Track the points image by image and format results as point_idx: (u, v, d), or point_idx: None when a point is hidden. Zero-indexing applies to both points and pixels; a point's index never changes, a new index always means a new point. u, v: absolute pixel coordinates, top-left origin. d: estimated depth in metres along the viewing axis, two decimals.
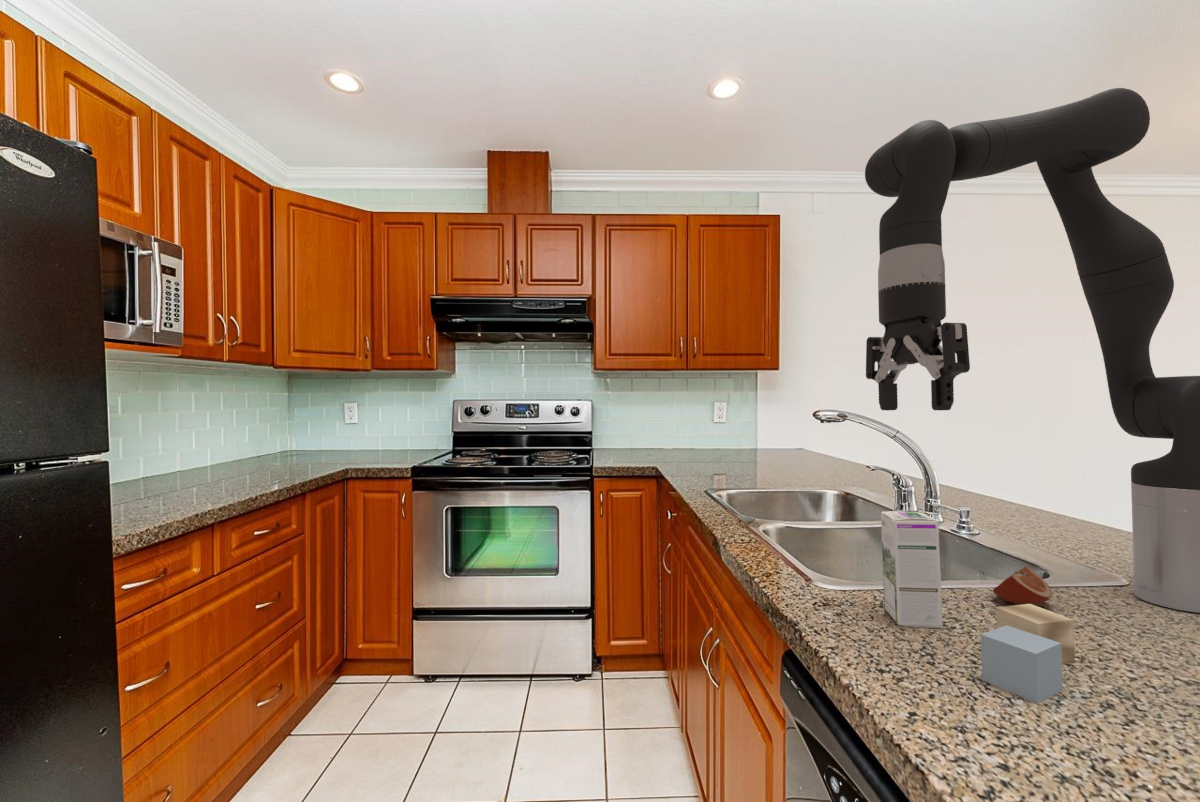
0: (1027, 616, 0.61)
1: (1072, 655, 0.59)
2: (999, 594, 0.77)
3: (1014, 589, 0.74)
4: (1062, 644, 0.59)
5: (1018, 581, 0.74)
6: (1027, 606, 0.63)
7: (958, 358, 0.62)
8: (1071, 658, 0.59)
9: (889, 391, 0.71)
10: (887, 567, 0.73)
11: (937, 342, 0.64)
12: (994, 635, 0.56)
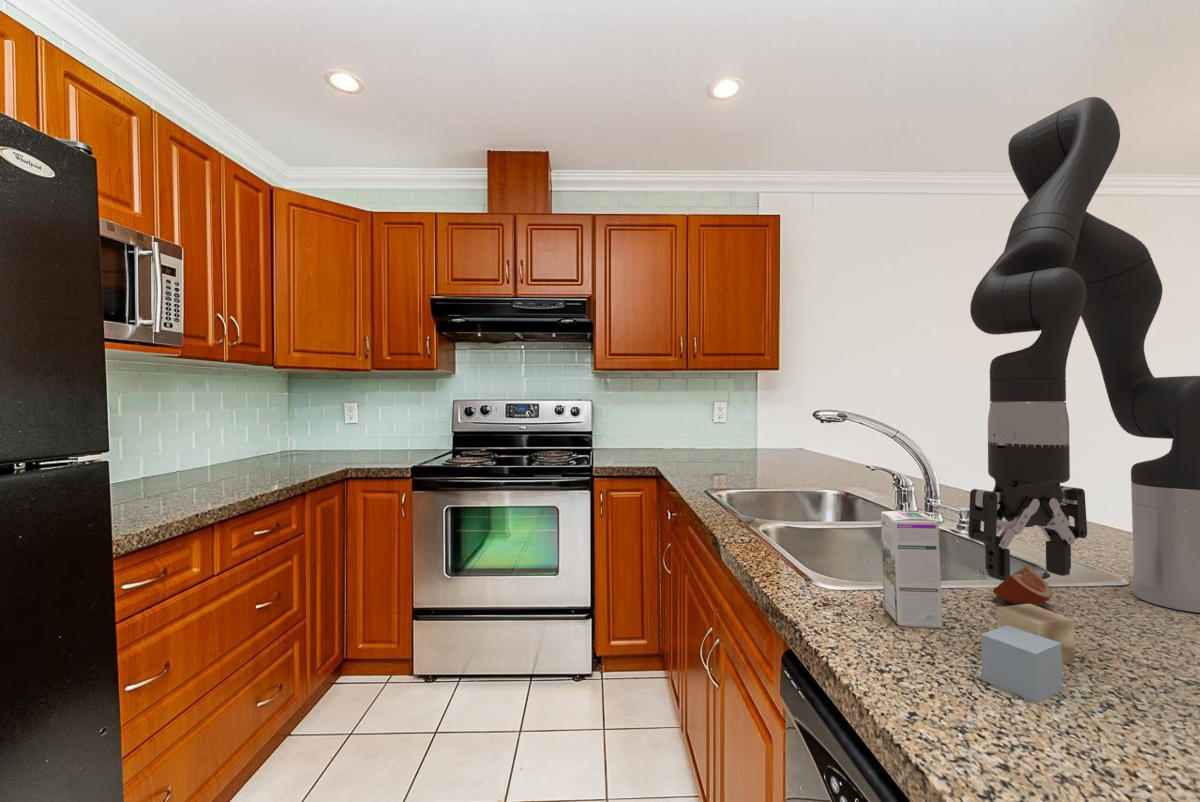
0: (1027, 616, 0.61)
1: (1072, 655, 0.59)
2: (999, 594, 0.77)
3: (1014, 590, 0.74)
4: (1062, 644, 0.59)
5: (1018, 581, 0.74)
6: (1027, 606, 0.63)
7: None
8: (1071, 658, 0.59)
9: None
10: (887, 567, 0.73)
11: None
12: (994, 635, 0.56)
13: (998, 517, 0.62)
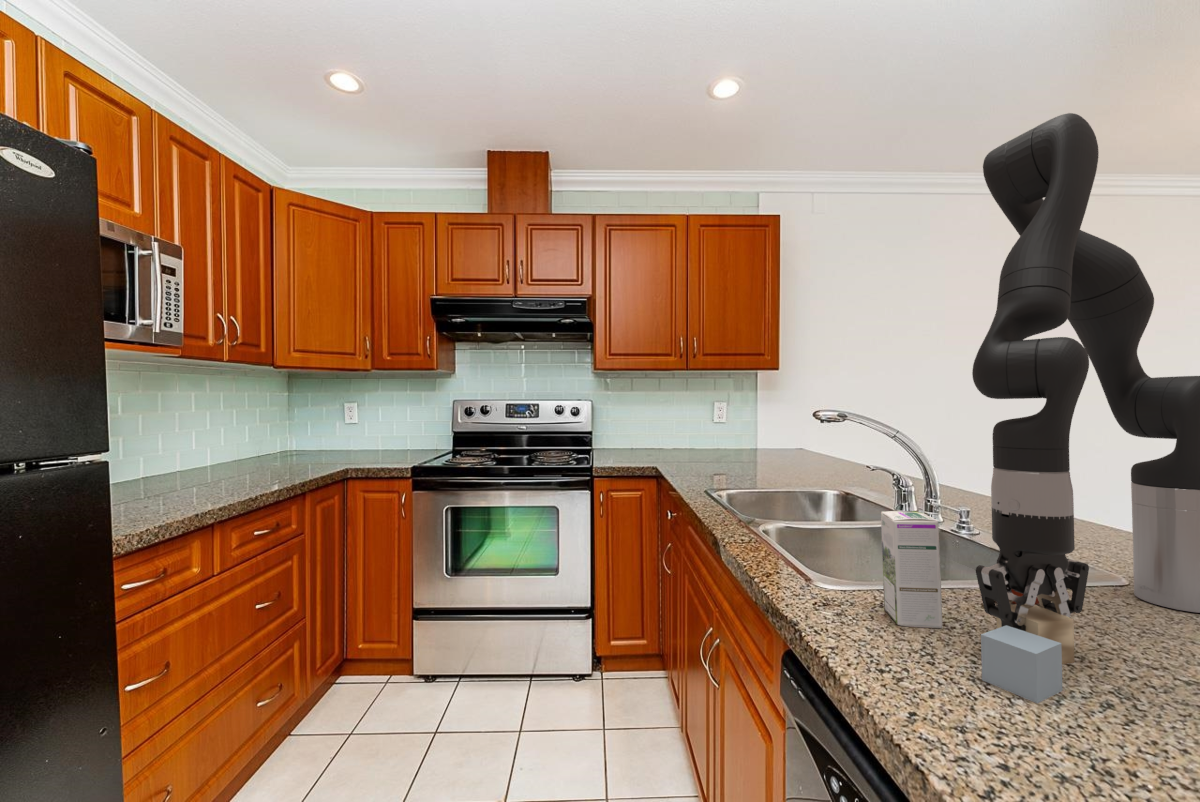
0: (1027, 615, 0.61)
1: (1072, 654, 0.59)
2: None
3: None
4: (1062, 643, 0.59)
5: None
6: None
7: None
8: (1071, 657, 0.59)
9: None
10: (887, 567, 0.73)
11: None
12: (994, 635, 0.56)
13: (1008, 587, 0.62)
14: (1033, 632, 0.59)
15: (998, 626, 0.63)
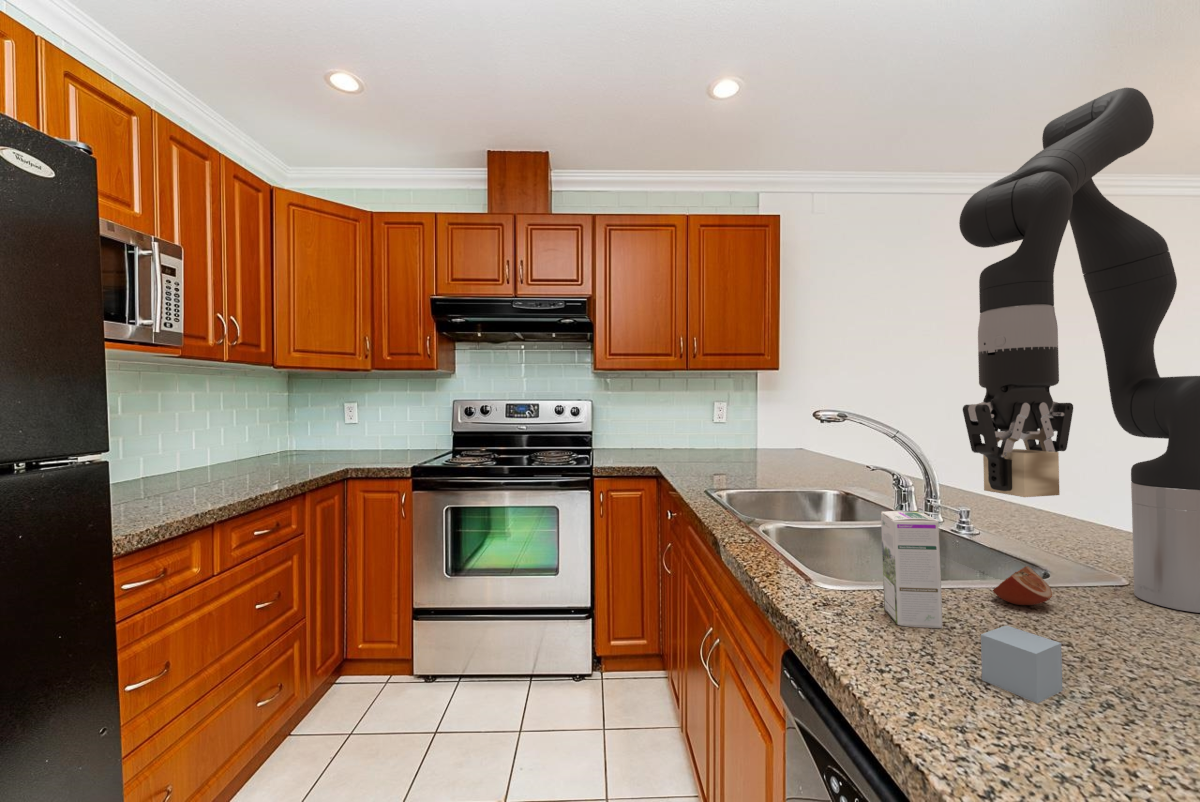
0: (1013, 451, 0.61)
1: (1057, 487, 0.60)
2: (999, 594, 0.77)
3: (1014, 590, 0.74)
4: (1047, 475, 0.60)
5: (1018, 581, 0.74)
6: (1013, 449, 0.64)
7: None
8: (1056, 490, 0.60)
9: None
10: (887, 567, 0.73)
11: None
12: (994, 635, 0.56)
13: (994, 428, 0.63)
14: (1019, 464, 0.60)
15: (985, 469, 0.64)
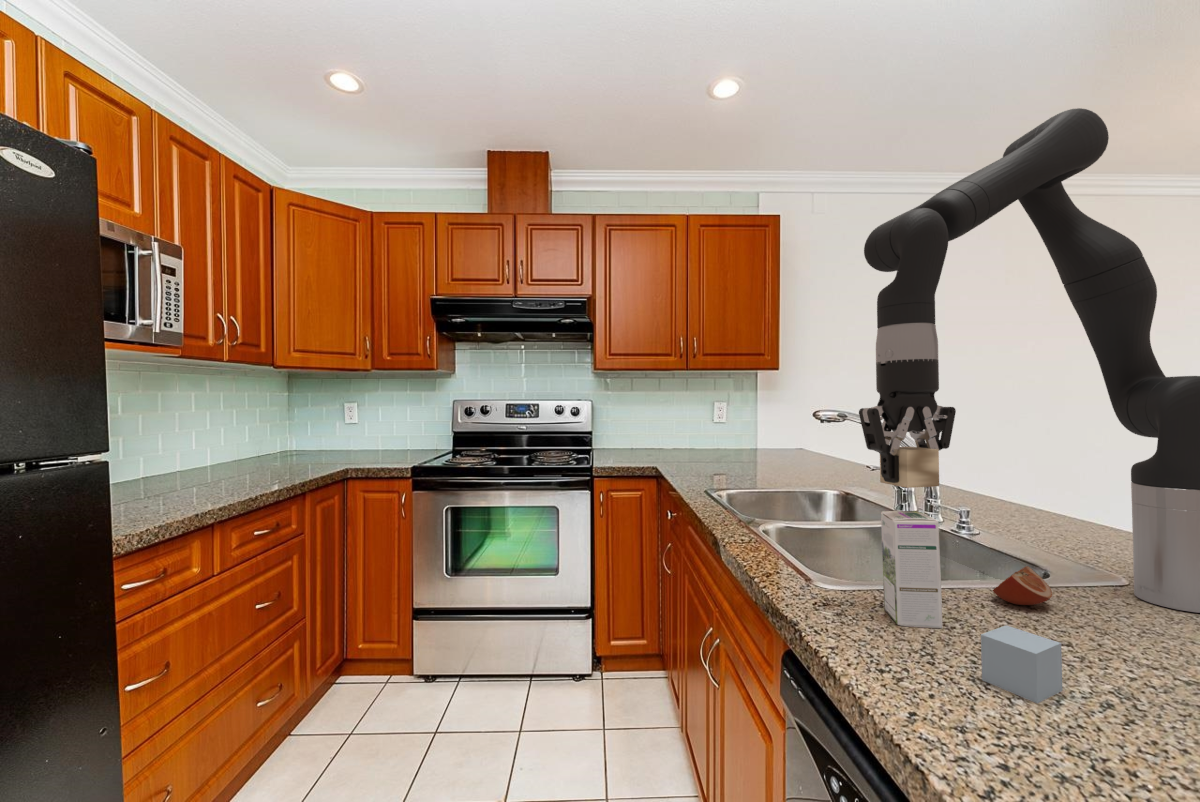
0: None
1: (937, 479, 0.70)
2: (999, 594, 0.77)
3: (1014, 589, 0.74)
4: (928, 469, 0.70)
5: (1018, 581, 0.74)
6: (906, 447, 0.74)
7: None
8: (936, 481, 0.70)
9: None
10: (887, 567, 0.73)
11: None
12: (994, 635, 0.56)
13: (887, 428, 0.73)
14: (903, 459, 0.70)
15: None
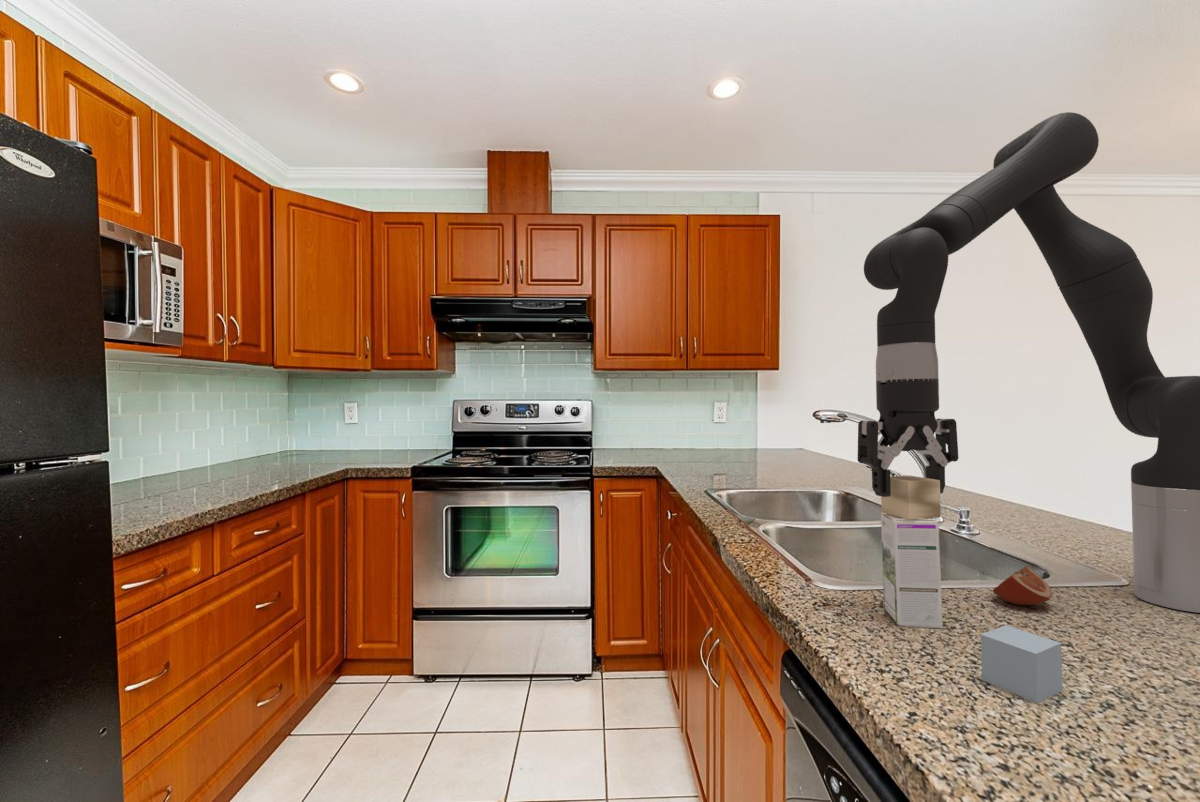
0: (902, 479, 0.71)
1: (938, 510, 0.70)
2: (999, 594, 0.77)
3: (1014, 589, 0.74)
4: (929, 500, 0.70)
5: (1018, 581, 0.74)
6: (907, 476, 0.74)
7: None
8: (937, 512, 0.70)
9: None
10: (887, 567, 0.73)
11: None
12: (994, 635, 0.56)
13: (884, 445, 0.73)
14: (905, 490, 0.70)
15: None
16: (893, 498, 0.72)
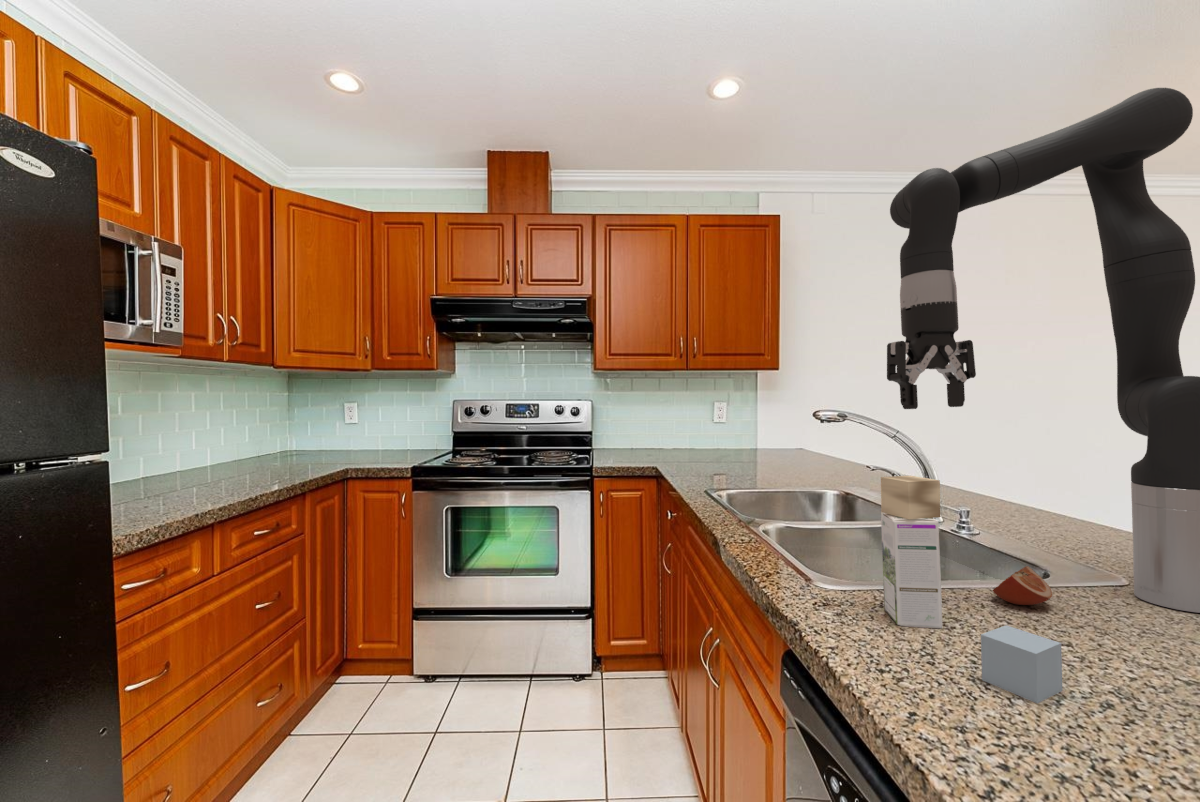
0: (902, 479, 0.71)
1: (938, 510, 0.70)
2: (999, 594, 0.77)
3: (1014, 589, 0.74)
4: (929, 500, 0.70)
5: (1018, 581, 0.74)
6: (907, 476, 0.74)
7: None
8: (937, 513, 0.70)
9: None
10: (887, 567, 0.73)
11: None
12: (994, 635, 0.56)
13: (909, 365, 0.81)
14: (905, 490, 0.70)
15: (882, 493, 0.74)
16: (893, 498, 0.72)
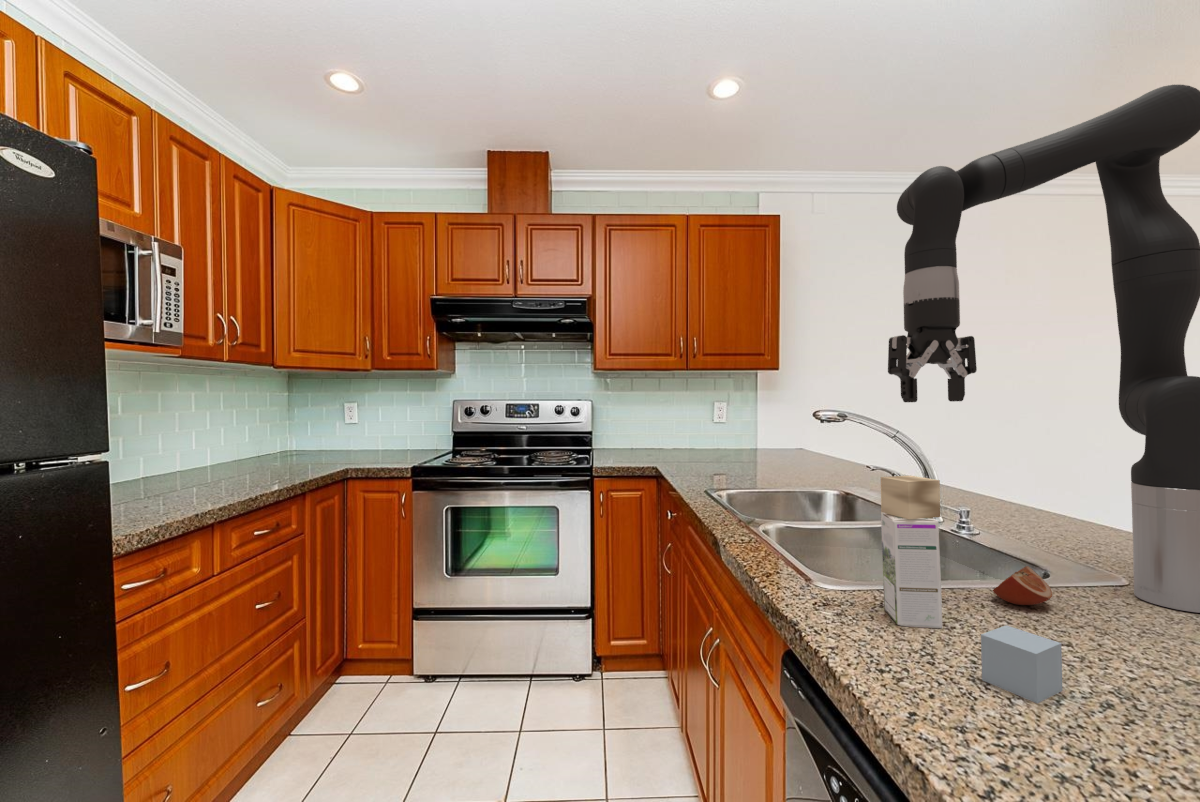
0: (902, 479, 0.71)
1: (938, 510, 0.70)
2: (999, 594, 0.77)
3: (1014, 590, 0.74)
4: (929, 500, 0.70)
5: (1018, 581, 0.74)
6: (907, 476, 0.74)
7: None
8: (937, 512, 0.70)
9: None
10: (887, 567, 0.73)
11: None
12: (994, 635, 0.56)
13: None
14: (905, 490, 0.70)
15: (882, 493, 0.74)
16: (893, 498, 0.72)
